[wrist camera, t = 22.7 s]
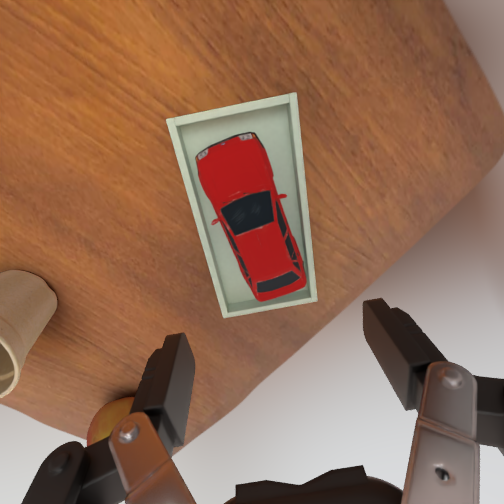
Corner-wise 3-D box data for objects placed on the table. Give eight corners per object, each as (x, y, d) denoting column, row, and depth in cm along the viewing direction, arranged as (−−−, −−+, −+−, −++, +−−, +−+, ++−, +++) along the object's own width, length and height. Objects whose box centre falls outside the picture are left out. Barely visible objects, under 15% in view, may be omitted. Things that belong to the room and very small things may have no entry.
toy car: (260, 123, 23) (267, 126, 18) (309, 269, 29) (322, 298, 24) (187, 153, 23) (175, 163, 19) (249, 290, 30) (252, 321, 25)
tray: (291, 93, 22) (296, 91, 21) (313, 290, 31) (317, 301, 29) (170, 118, 23) (165, 119, 21) (223, 306, 31) (223, 318, 29)
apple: (133, 429, 39) (111, 500, 32) (91, 395, 36) (55, 466, 29) (180, 408, 38) (167, 478, 31) (140, 371, 34) (115, 439, 27)
